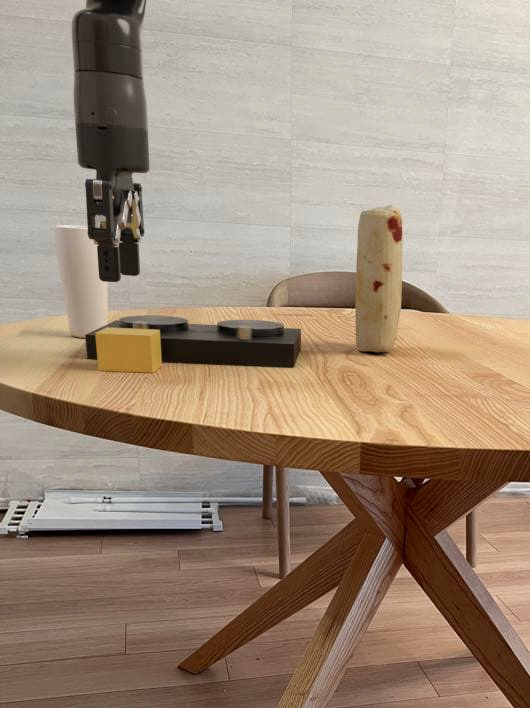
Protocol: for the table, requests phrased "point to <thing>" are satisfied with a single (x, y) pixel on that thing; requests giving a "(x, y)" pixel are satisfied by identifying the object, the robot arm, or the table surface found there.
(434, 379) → the table surface
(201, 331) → the stove
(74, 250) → the drinking glass
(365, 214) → the food model
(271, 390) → the table surface
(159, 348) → the cheese
